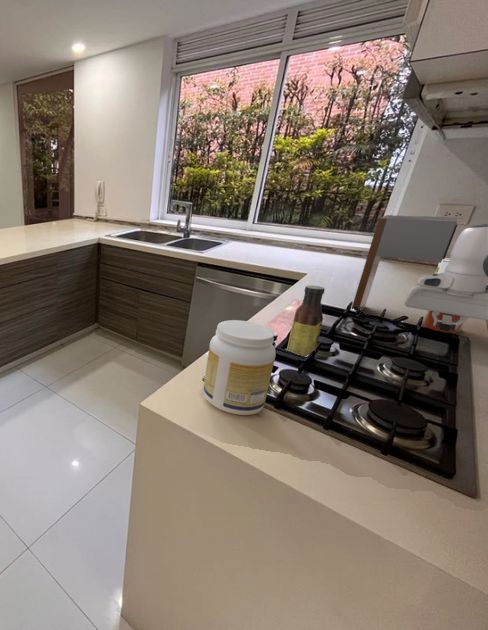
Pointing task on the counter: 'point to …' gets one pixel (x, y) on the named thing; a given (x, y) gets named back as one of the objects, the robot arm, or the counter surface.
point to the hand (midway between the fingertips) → (444, 327)
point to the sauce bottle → (307, 322)
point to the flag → (405, 245)
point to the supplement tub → (239, 367)
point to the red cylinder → (445, 324)
